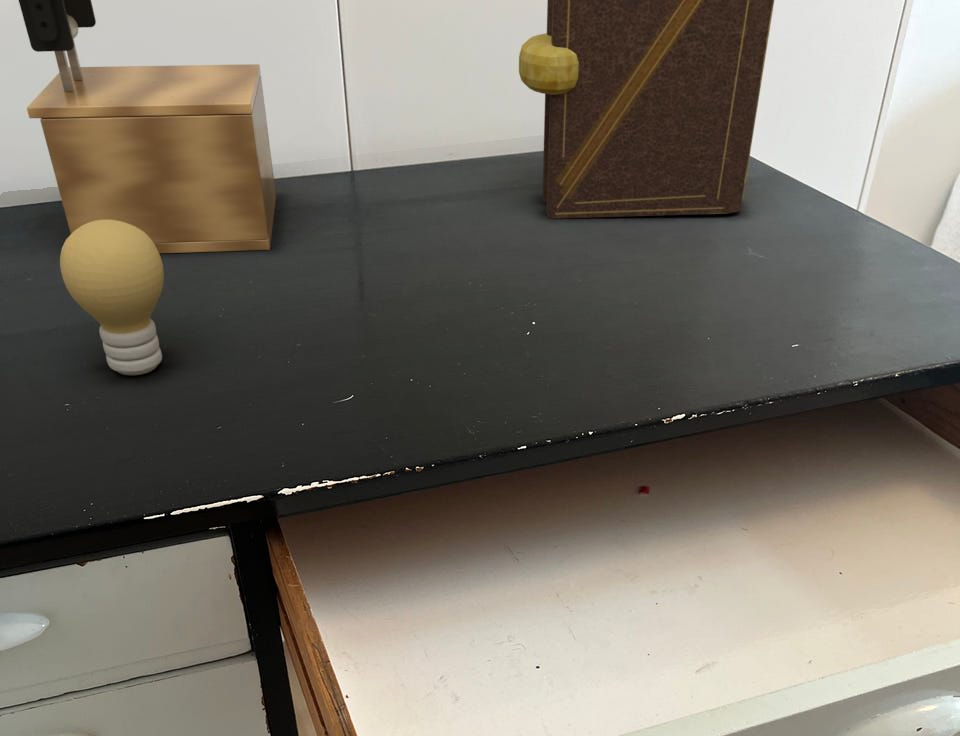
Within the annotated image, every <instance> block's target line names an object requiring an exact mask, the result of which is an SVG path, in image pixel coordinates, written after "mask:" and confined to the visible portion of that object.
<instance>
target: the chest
mask: <svg viewBox="0 0 960 736" xmlns="http://www.w3.org/2000/svg"><path fill="white" fill-rule="evenodd" d="M264 97H265V96H264V89H263V81H262V75H261V74H260V78H259V83H258V87H257V92H256V96H255V100H254V105H253V109H252V114H223V115H174V116H124V117H75V118H39V119H40V124H41V128H42V132H43V136H44V139H45V144H46V147H47V152H48V155H49V158H50V162H51V165H52V170H53V174H54V176H55V181H56V185H57V188H58V191H59V195H60V199H61V204H62V207H63V210H64V215H65V218H66V222H67V225H68V230H69V233H70V235H71V234H72V233H73V232H74V231H75V230H76V229H78V228H79V227H81V226H82V225H85V224H87V223H89V222H92V221H96V220H117V221H121V222H125V223H128V224H130V225H133V226H135V227H137V228H138V229H140V230H142V231H143V232H144V233H146V234H147V235H148V236H149V237H150V239H151V240H152V241H153V243H154V244H155V246H156V248H157V250H158V252H159V254H184V253H188V254H189V253H214V252H215V253H217V252H244V251H246V252H247V251H270V250H271V245H272V238H273V237H272V235H273V226H274V219H275V211H276V201H277V192H276V191H277V190H276V184H275V183H276V182H275V176H274V169H273V168H274V167H273V159H272V153H271V145H270V137H269V128H268V120H267V112H266V105H265V98H264Z"/></svg>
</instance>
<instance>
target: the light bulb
mask: <svg viewBox="0 0 960 736" xmlns="http://www.w3.org/2000/svg"><path fill="white" fill-rule="evenodd" d="M60 251H61V252H60V255H59V266H60V267H59V268H60V273H61V277H62V279H63V280H62V281H63V282H64V283H63V284H64V285H65V287H66V290H67V291H68V293H69V295H70V296H71V297H72V299H73V300H74V301H75V302H76V304H77V305H78V306H79V307H80V308H82V309H83V311H85V312H86V313H87V314H88V315H89V316H90V317H92V318H93V319H94V320H96V322H98V323H99V324H100V326H99V329H98V332H99V336H100V340H101V341H102V347H103V351H104V354H105V358H106V363H107V365H108V367H109V368H110V369H111V370H113V371H115V372H117V373H118V374H120V375H124V376H139V375H145V374H147V373H150V372H152V371H153V370H155V369H156V368H157V367H158V366H159V364H160V363H161V362H162V360H163V354H162V350H161V348H160V341H159V337H158V335H157V327H156V324H155V321H154V320H153V319H151V316H152V314H153V312H154V311H155V308H156V306H157V304H158V302H159V298H160V297H161V294H162V292H163V287H164V281H165V272H164V264H163V261H162V257H161V253H159V252H158V250H157V248H156V246H155V244H154V243H153V241H152V240H151V239H150V237H149V236H148V235H147V234H146V233H144V232H143V231H142V230H140V229H138V228H137V227H135V226H133V225H130V224H128V223H125V222H121V221H117V220H96V221H92V222H89V223H87V224H85V225H82V226H81V227H79V228H78V229H76V230H75V231H74V232H73V233H72V234H71V233H70V235H69V236H68V237H67V238H66V239H65V241H64V242H63V245H62V247H61V250H60Z"/></svg>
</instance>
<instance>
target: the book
mask: <svg viewBox="0 0 960 736" xmlns="http://www.w3.org/2000/svg"><path fill="white" fill-rule="evenodd" d="M546 4H547V5H546V9H547V10H546V11H547V12H546V33H541V34H536V35H533V36H531V37H530V38H528V39H527V40H526V41H525V42H524V43H523V44H522V45H521V47H520V51H519V54H518V75H519V77H520V81H521V82H522V83H523V84H524V85H525V86H526V87H527V88H528V89H529V90H531V91H533V92H536V93H540V94H544V119H543V121H544V123H543V125H544V126H543V157H542V158H543V159H542V160H543V162H542V163H543V164H542V194H541V195H542V197H541V198H542V202H543V203H544V204H546V211H545V212H546V213H545V215H546V216H547V218H548V219H552V220H553V219H554V220H555V219H582V218H583V219H584V218H587V219H588V218H617V217H647V216H648V217H650V216H651V217H652V216H653V217H654V216H684V215H685V216H686V215H688V216H689V215H716V214H717V215H719V214H720V215H722V214H723V215H724V214H731V213H738V212H740V211H741V209H742V207H743V200H744V195H745V190H746V189H745V188H746V181H747V175H748V169H749V163H750V158H751V150H752V145H753V144H752V143H753V139H754V138H753V137H754V131H755V125H756V120H757V113H758V107H759V100H760V93H761V87H762V81H763V75H764V69H765V61H766V56H767V49H768V44H769V37H770V32H771V31H770V30H771V24H772V18H773V13H774V12H773V11H774V5H775V0H547V3H546Z"/></svg>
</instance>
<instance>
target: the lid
mask: <svg viewBox="0 0 960 736" xmlns="http://www.w3.org/2000/svg"><path fill="white" fill-rule="evenodd" d="M67 17H68V21H69V25H70V30H71V34H72V38H73V42H74V48H73V49H72V50H70V51H53V52H54V56H55V60H56V64H57V68H58V73H57V74H56V75H55V76H54V77H53V79H52V80H51V81H50V82H49V83H48V84H47V85H46V86H45V87H44V88H43V89H42V91H41V92H40V93H38V95H36V97H35V98H34V99H33V101H32V102H30V104H29V105H28V106H26V111H27V114H28V118H29V119H41V118H75V117H124V116H174V115H223V114H252V109H253V105H254V100H255V96H256V92H257V87H258V83H259V78H260V75H261V73H262V72H261V65H260V64H259V63H256V64H255V63H254V64H251V63H250V64H249V63H247V64H196V65H195V64H194V65H193V64H191V65H189V64H187V65H133V66H132V65H129V66H128V65H127V66H123V65H122V66H121V65H120V66H118V65H117V66H81V64H80V60H79V56H78V51H77V47H76V43H75V38H76V37H77V36H78V34H79V28H78V25H77V23H76V21H75V20H74V19H73V18H72V17H71V16H69V15H67ZM66 54H67V55H66Z"/></svg>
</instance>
